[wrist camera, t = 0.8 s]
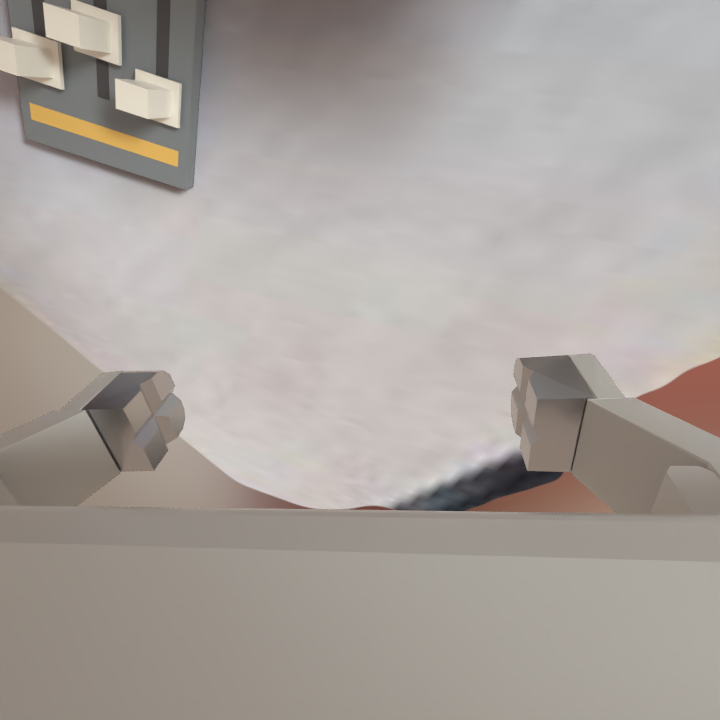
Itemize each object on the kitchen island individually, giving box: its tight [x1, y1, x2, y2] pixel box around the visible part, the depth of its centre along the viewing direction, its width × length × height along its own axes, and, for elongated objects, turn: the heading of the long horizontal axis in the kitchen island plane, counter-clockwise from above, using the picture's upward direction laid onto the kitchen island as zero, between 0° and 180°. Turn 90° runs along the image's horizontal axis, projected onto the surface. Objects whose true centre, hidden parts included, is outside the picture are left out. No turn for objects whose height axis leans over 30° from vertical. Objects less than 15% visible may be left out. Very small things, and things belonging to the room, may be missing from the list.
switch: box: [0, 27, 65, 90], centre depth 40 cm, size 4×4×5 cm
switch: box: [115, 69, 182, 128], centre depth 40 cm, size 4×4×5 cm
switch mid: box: [43, 0, 122, 66], centre depth 38 cm, size 4×4×5 cm
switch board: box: [7, 0, 206, 190], centre depth 41 cm, size 24×18×2 cm
